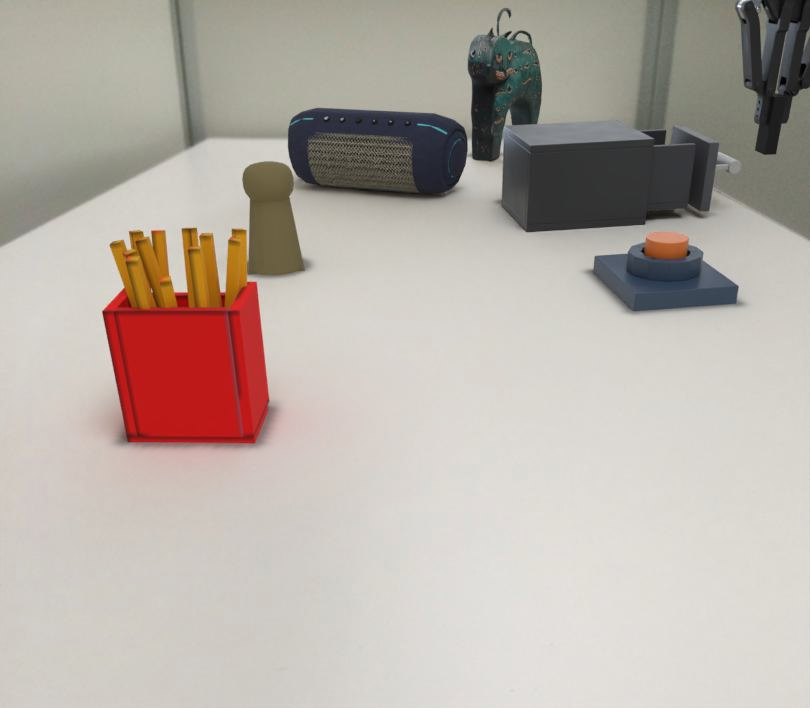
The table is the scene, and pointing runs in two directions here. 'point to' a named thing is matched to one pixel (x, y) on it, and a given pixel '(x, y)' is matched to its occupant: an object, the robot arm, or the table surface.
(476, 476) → the table surface
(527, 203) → the grey box
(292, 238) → the cork
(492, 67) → the green animal figurine
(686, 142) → the drawer
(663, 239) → the button
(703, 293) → the control block
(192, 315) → the french fries container
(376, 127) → the portable speaker
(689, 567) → the table surface
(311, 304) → the table surface
